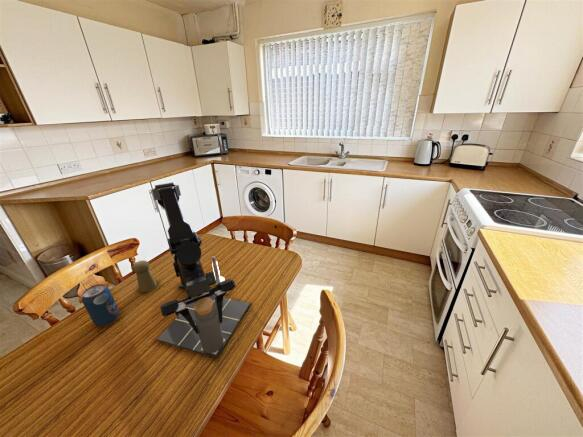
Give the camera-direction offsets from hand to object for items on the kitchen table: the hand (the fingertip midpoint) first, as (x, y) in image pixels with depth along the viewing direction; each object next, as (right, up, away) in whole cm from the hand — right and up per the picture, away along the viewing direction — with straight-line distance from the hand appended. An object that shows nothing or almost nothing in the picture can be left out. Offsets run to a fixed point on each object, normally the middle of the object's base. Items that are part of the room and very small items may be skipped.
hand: (209, 328), depth 62 cm
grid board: (-5, -4, +12) cm, 14 cm away
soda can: (-38, -4, +15) cm, 41 cm away
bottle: (0, -7, +4) cm, 8 cm away
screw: (-6, +3, +28) cm, 29 cm away
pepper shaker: (-33, +3, +28) cm, 44 cm away
